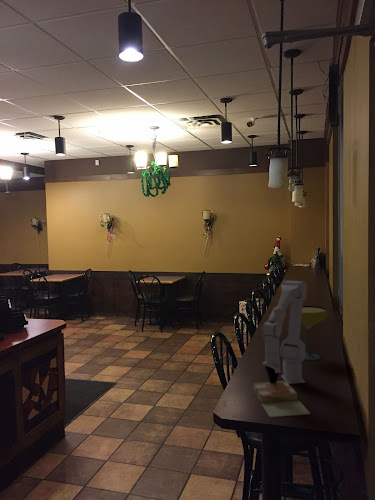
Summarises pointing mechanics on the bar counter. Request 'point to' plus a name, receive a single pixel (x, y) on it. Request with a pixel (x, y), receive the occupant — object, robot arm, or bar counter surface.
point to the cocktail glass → (310, 318)
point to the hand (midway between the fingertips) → (273, 384)
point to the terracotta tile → (277, 389)
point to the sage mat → (285, 409)
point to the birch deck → (267, 398)
